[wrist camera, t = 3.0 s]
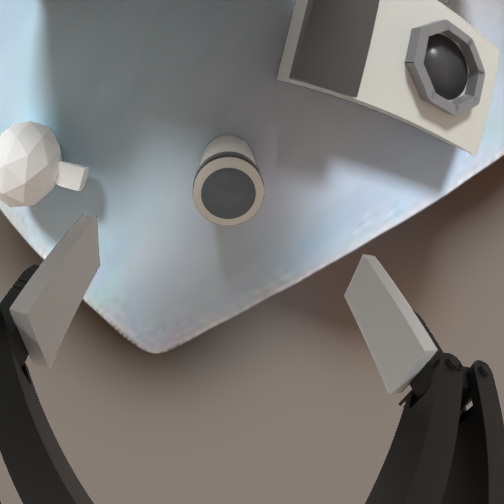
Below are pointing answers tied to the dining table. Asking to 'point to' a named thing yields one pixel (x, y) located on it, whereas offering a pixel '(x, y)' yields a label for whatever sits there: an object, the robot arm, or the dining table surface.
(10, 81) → the dining table surface
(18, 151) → the perfume bottle
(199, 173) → the lens
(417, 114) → the camera body
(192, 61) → the dining table surface
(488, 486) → the robot arm
